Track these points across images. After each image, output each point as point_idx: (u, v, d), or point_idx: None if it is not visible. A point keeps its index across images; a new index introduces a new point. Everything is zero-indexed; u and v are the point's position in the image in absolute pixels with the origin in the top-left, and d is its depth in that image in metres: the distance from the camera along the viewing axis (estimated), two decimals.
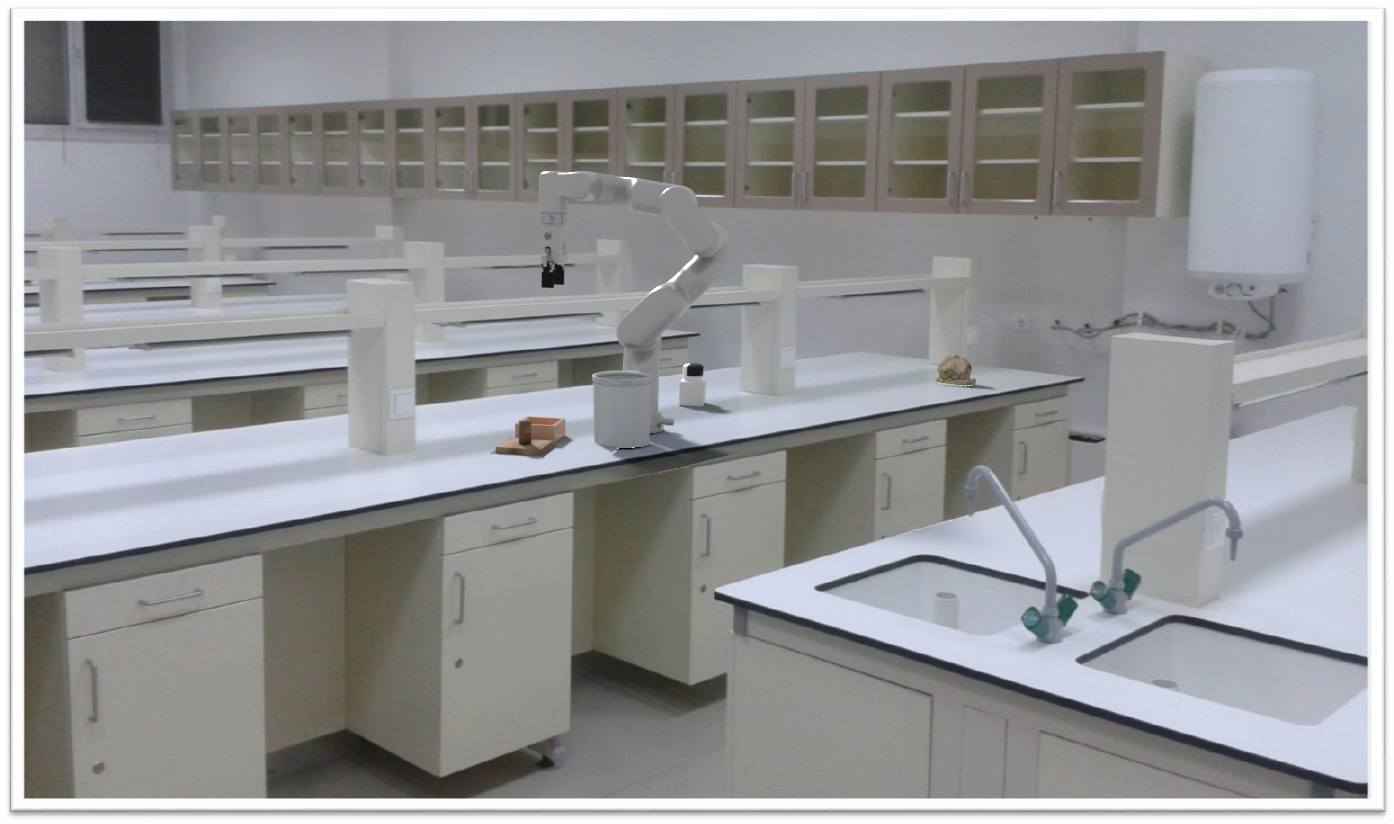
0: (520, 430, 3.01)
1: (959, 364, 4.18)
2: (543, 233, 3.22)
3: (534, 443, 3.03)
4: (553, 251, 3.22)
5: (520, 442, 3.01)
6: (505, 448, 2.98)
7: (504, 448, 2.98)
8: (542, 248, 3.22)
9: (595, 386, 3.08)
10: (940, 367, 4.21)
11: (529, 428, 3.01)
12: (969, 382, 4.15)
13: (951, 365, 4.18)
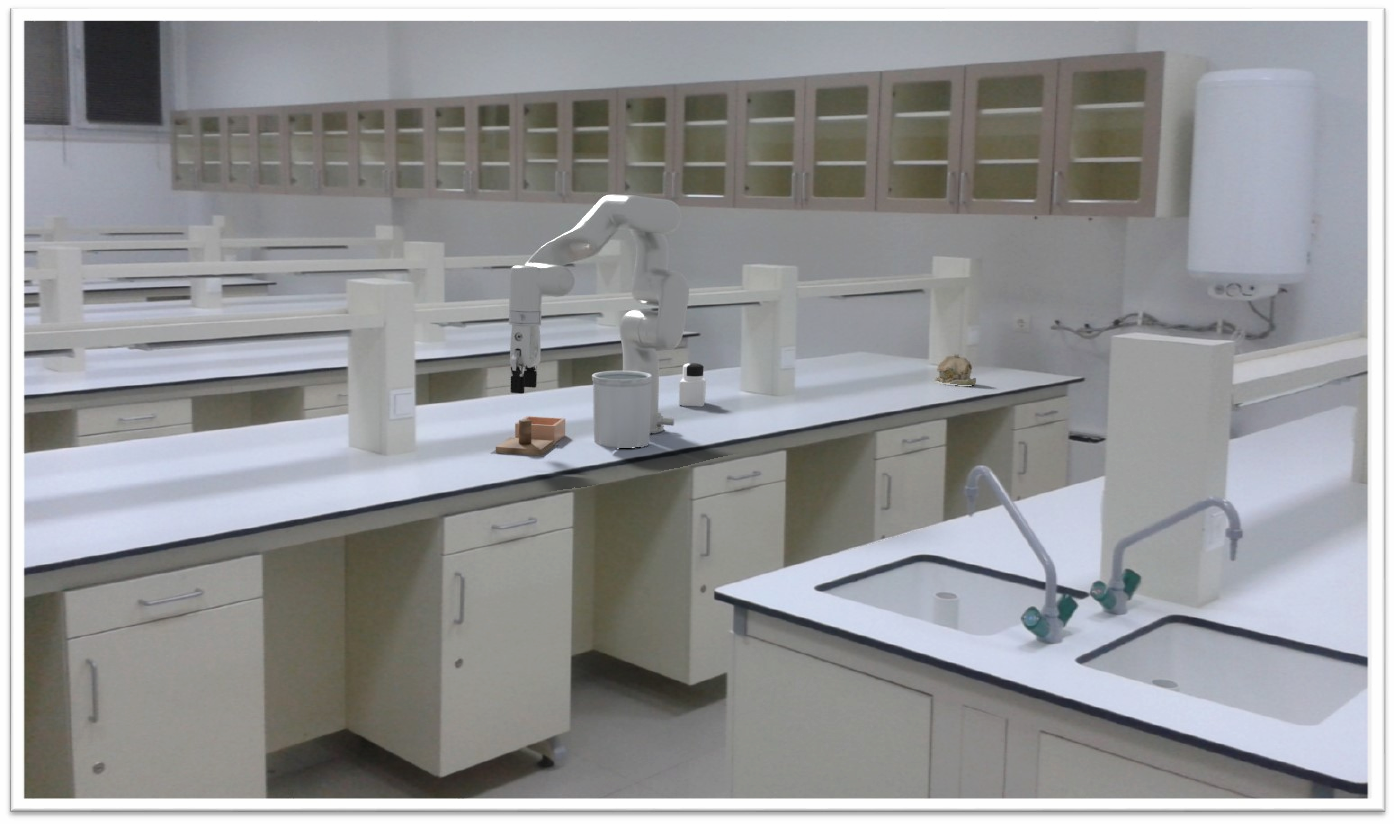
0: (520, 430, 3.01)
1: (960, 364, 4.18)
2: (513, 334, 2.93)
3: (534, 443, 3.03)
4: (524, 353, 2.93)
5: (520, 442, 3.01)
6: (505, 448, 2.98)
7: (504, 448, 2.98)
8: (512, 350, 2.93)
9: (595, 386, 3.08)
10: (940, 367, 4.21)
11: (529, 428, 3.01)
12: (970, 382, 4.16)
13: (951, 365, 4.19)
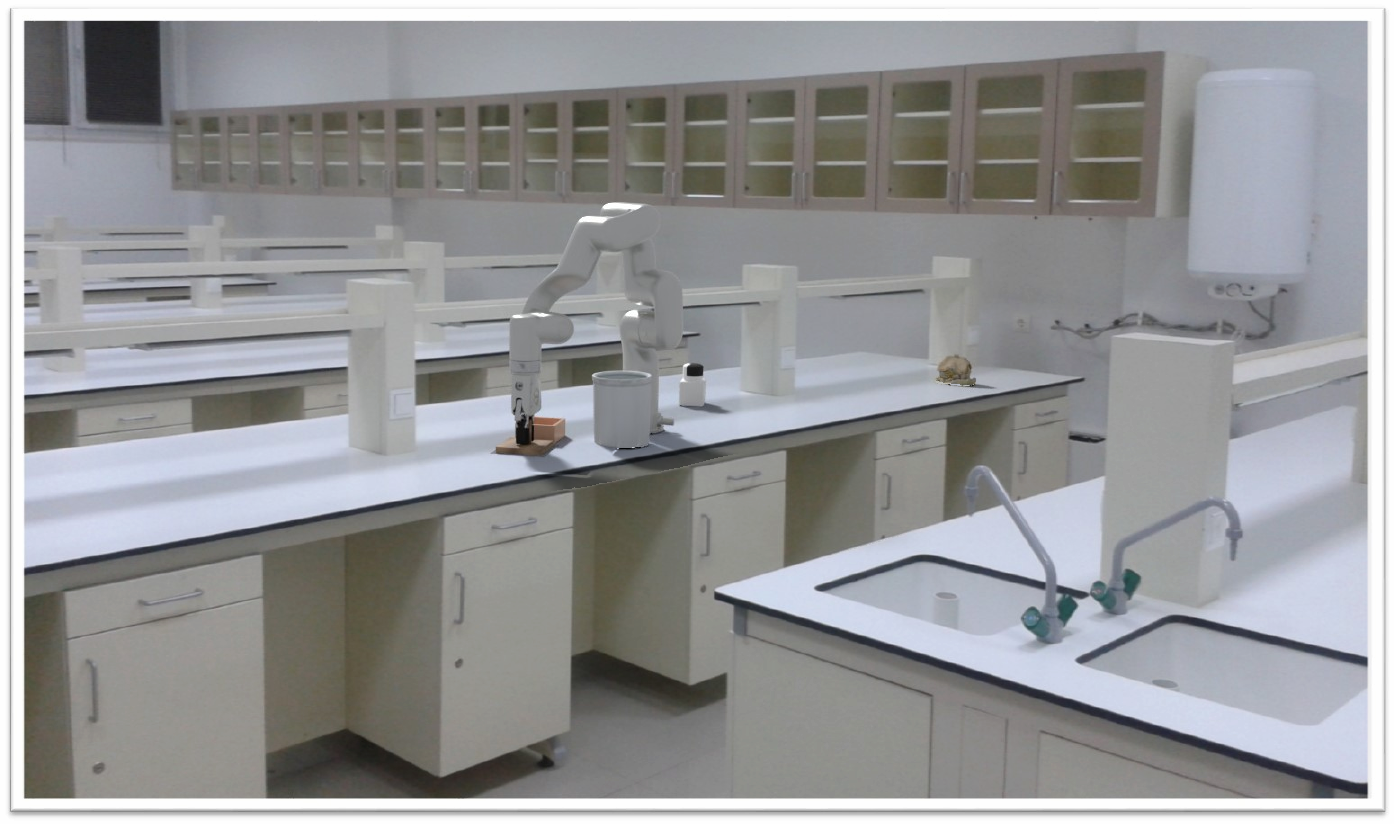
0: None
1: (960, 364, 4.19)
2: (514, 383, 2.95)
3: (534, 443, 3.03)
4: (525, 403, 2.95)
5: None
6: (505, 448, 2.98)
7: (504, 448, 2.98)
8: (513, 399, 2.96)
9: (595, 386, 3.08)
10: (940, 367, 4.22)
11: None
12: (970, 381, 4.16)
13: (952, 365, 4.19)
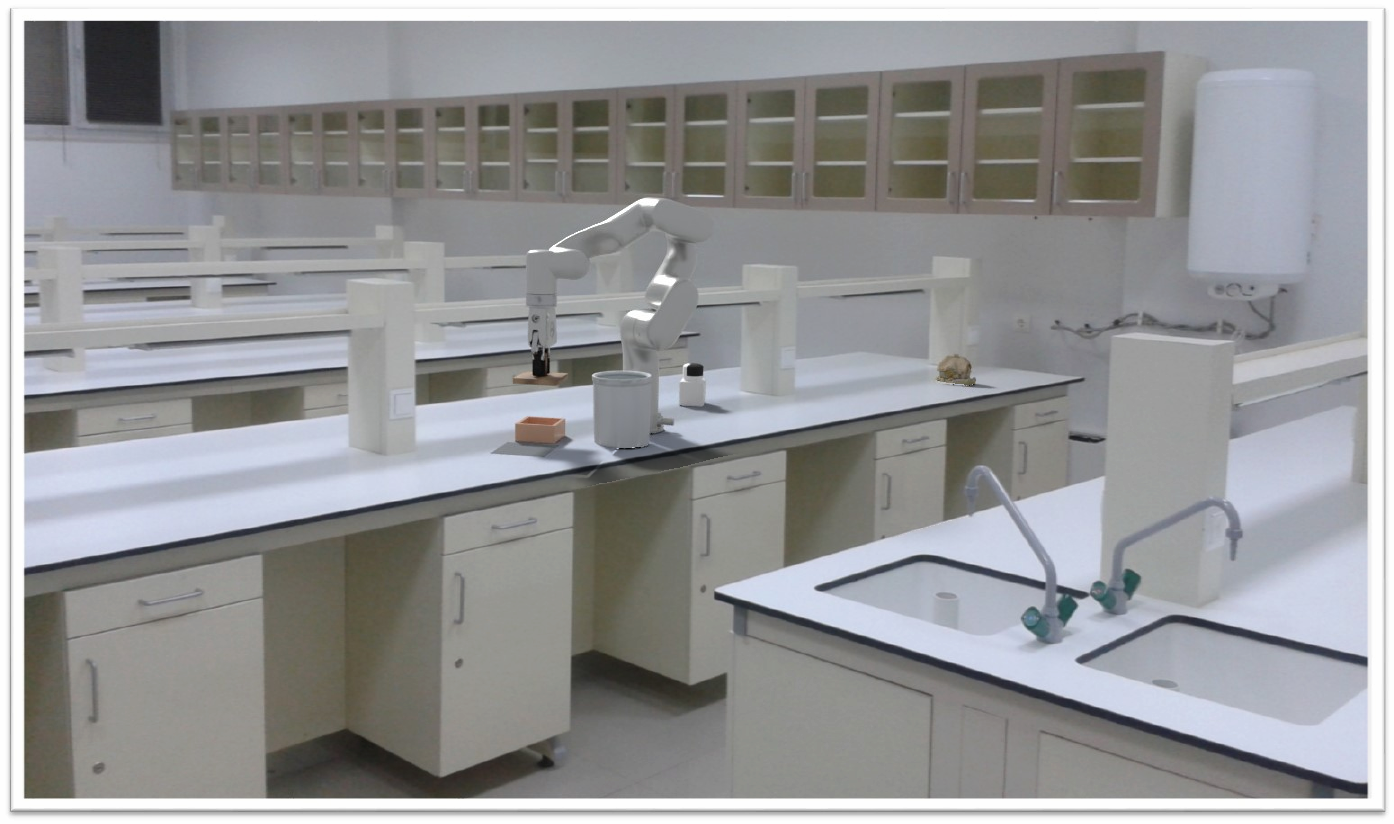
0: None
1: (960, 363, 4.19)
2: (530, 316, 3.05)
3: (550, 375, 3.13)
4: (541, 335, 3.05)
5: None
6: (522, 379, 3.08)
7: (521, 379, 3.08)
8: (529, 331, 3.06)
9: (595, 386, 3.08)
10: (940, 366, 4.22)
11: None
12: (970, 381, 4.17)
13: (952, 365, 4.20)
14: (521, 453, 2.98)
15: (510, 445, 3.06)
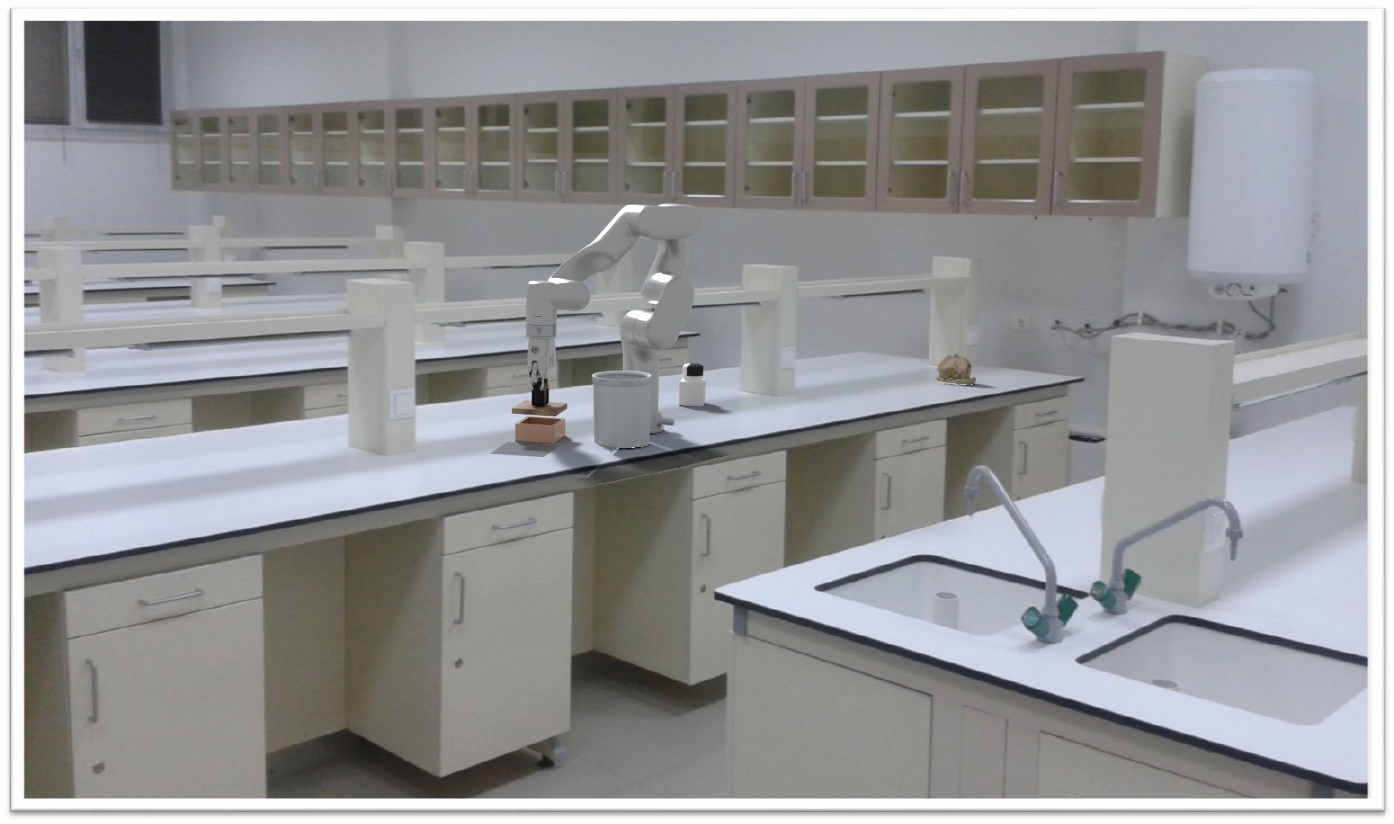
0: None
1: (960, 363, 4.20)
2: (530, 346, 3.07)
3: (549, 405, 3.14)
4: (540, 365, 3.07)
5: None
6: (521, 409, 3.09)
7: (520, 409, 3.09)
8: (529, 362, 3.07)
9: (595, 386, 3.08)
10: (940, 366, 4.22)
11: None
12: (970, 381, 4.17)
13: (952, 364, 4.20)
14: (521, 453, 2.98)
15: (510, 445, 3.06)
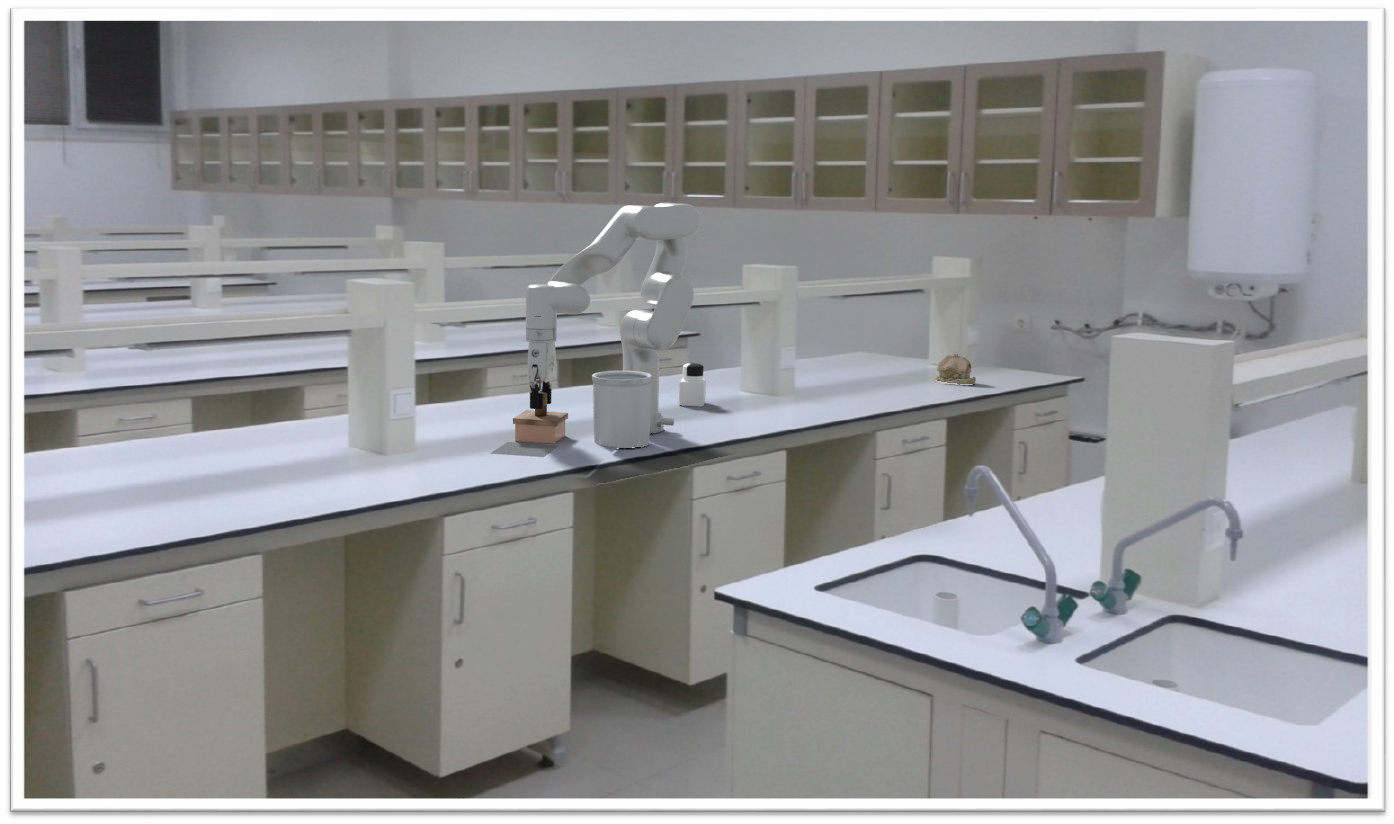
0: None
1: (960, 363, 4.20)
2: (530, 350, 3.07)
3: (549, 415, 3.15)
4: (540, 369, 3.07)
5: (536, 414, 3.13)
6: (522, 419, 3.10)
7: (521, 419, 3.10)
8: (529, 366, 3.07)
9: (595, 386, 3.08)
10: (940, 366, 4.22)
11: (545, 400, 3.13)
12: (970, 381, 4.18)
13: (952, 364, 4.20)
14: (521, 453, 2.98)
15: (510, 445, 3.06)
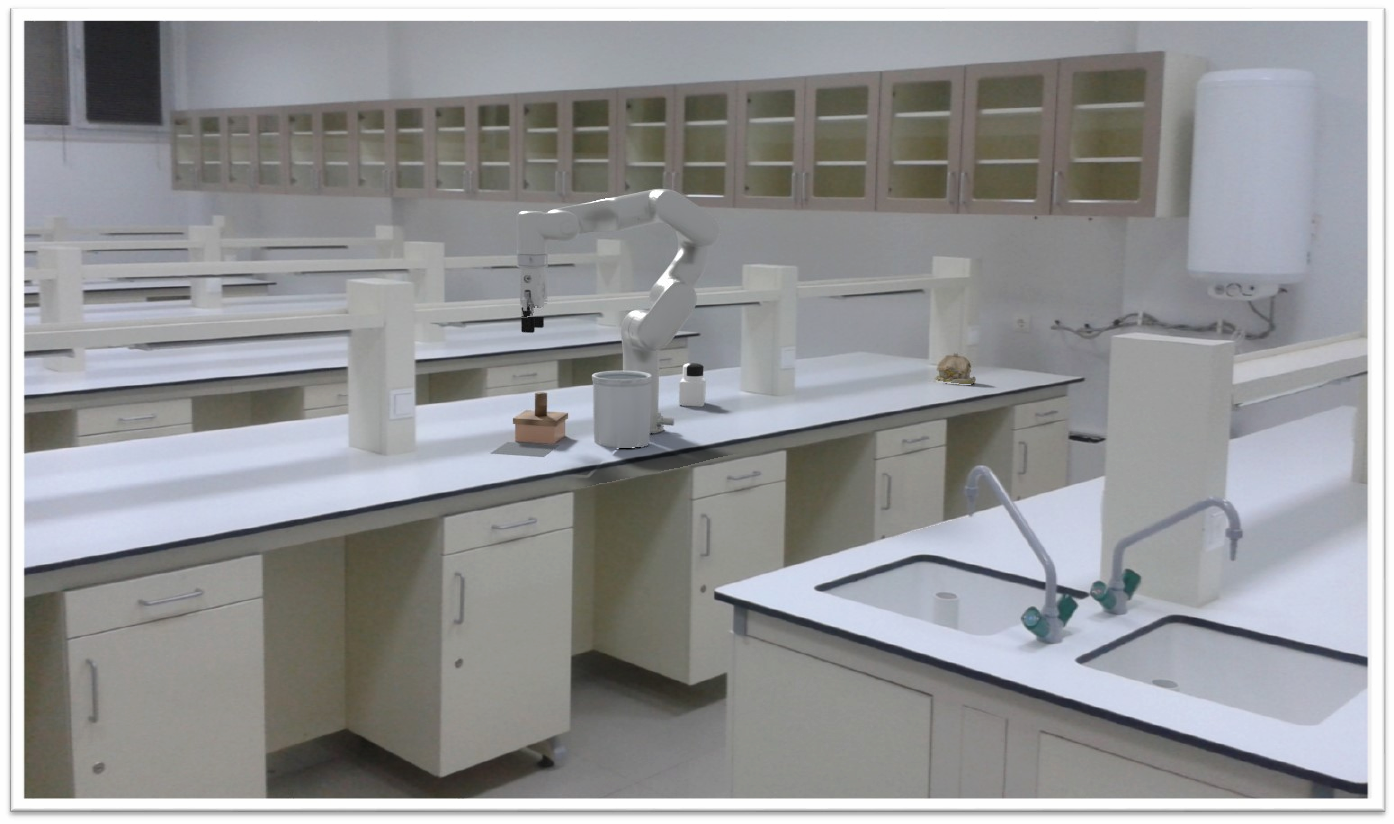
0: (536, 402, 3.13)
1: (960, 363, 4.21)
2: (522, 276, 3.09)
3: (549, 415, 3.15)
4: (533, 294, 3.10)
5: (536, 414, 3.13)
6: (522, 419, 3.10)
7: (521, 419, 3.10)
8: (521, 291, 3.10)
9: (595, 386, 3.08)
10: (940, 366, 4.23)
11: (545, 400, 3.13)
12: (971, 380, 4.18)
13: (952, 364, 4.21)
14: (521, 453, 2.98)
15: (510, 445, 3.06)
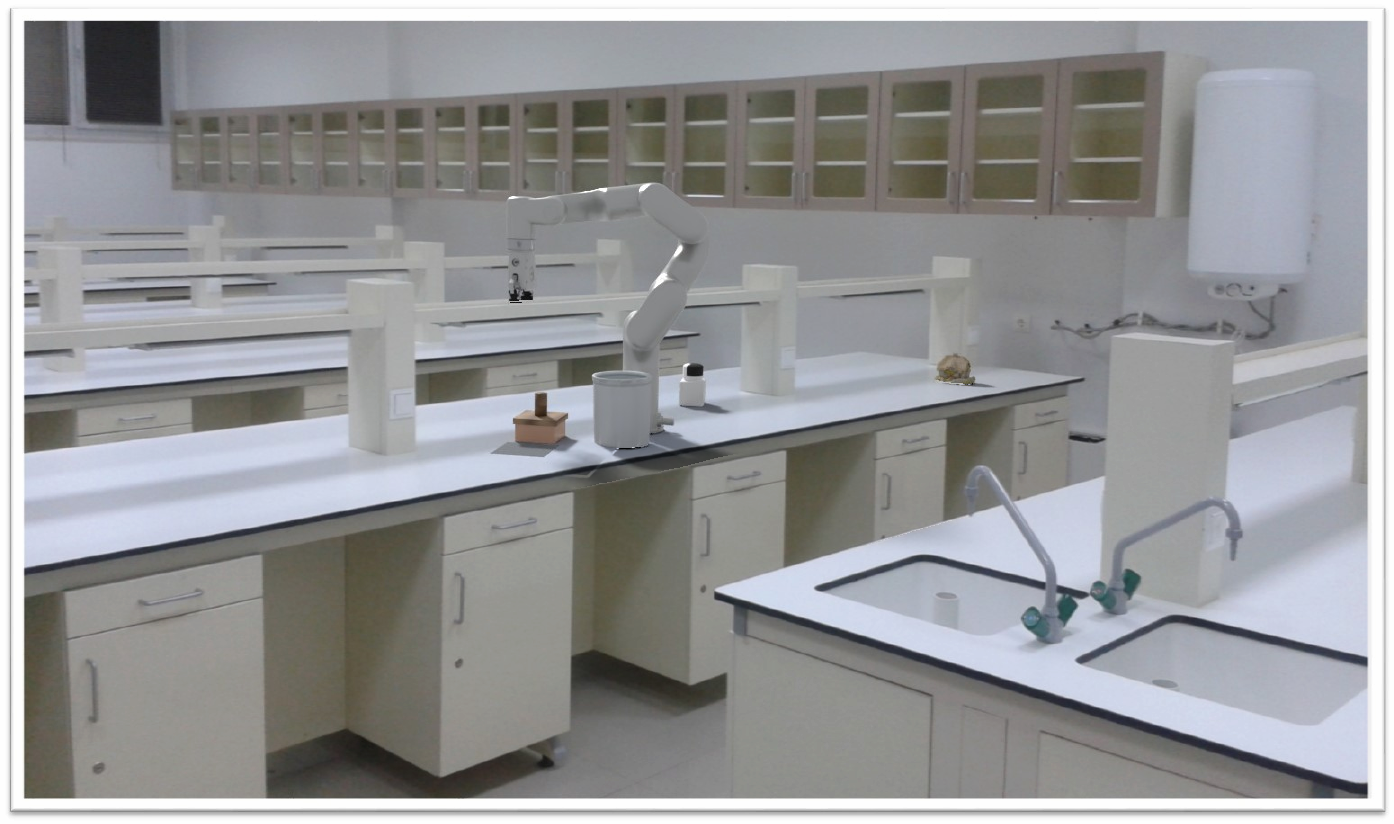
0: (536, 402, 3.13)
1: (960, 363, 4.21)
2: (510, 259, 3.16)
3: (549, 415, 3.15)
4: (520, 278, 3.16)
5: (536, 414, 3.13)
6: (522, 419, 3.10)
7: (521, 419, 3.10)
8: (509, 275, 3.17)
9: (595, 386, 3.08)
10: (940, 366, 4.23)
11: (545, 400, 3.13)
12: (971, 380, 4.19)
13: (951, 364, 4.21)
14: (521, 453, 2.98)
15: (510, 445, 3.06)
